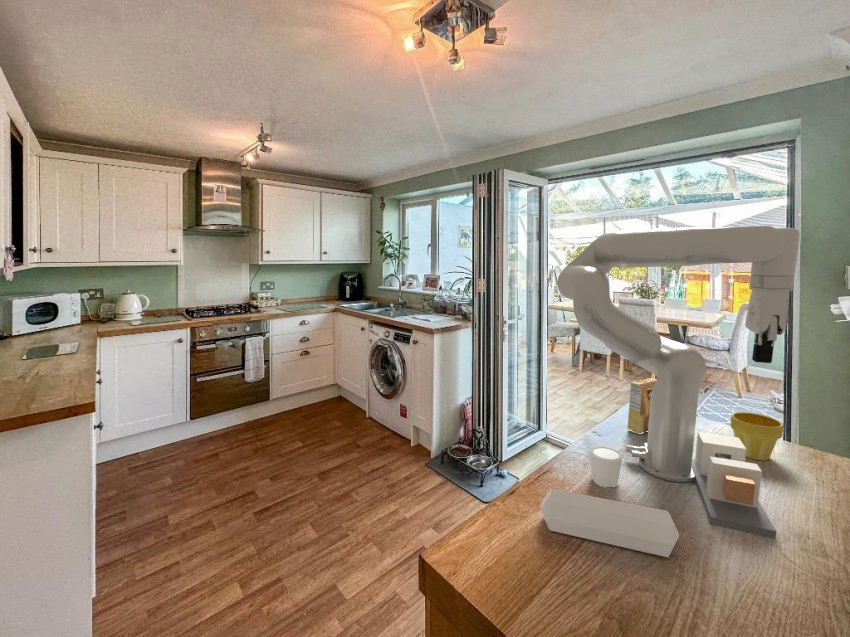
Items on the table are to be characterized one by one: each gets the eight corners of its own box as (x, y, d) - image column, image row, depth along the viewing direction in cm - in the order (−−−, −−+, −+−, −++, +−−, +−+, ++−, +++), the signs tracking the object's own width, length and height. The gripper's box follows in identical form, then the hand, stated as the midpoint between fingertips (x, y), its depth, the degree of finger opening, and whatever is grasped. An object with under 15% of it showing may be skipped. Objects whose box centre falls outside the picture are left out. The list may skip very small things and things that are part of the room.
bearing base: (775, 538, 73) (781, 491, 71) (710, 523, 77) (714, 479, 75) (737, 472, 94) (742, 435, 93) (688, 464, 99) (691, 428, 97)
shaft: (752, 505, 76) (755, 484, 76) (725, 499, 78) (727, 479, 77) (726, 457, 94) (728, 440, 93) (704, 454, 96) (705, 437, 95)
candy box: (645, 424, 122) (649, 377, 120) (659, 430, 118) (663, 381, 116) (626, 430, 118) (629, 381, 116) (639, 436, 114) (643, 385, 112)
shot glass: (583, 473, 95) (584, 446, 94) (610, 472, 96) (612, 445, 95) (598, 490, 88) (599, 461, 87) (627, 488, 89) (629, 459, 88)
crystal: (537, 518, 74) (687, 551, 65) (541, 483, 79) (680, 509, 70) (538, 536, 78) (679, 569, 69) (542, 501, 83) (673, 528, 74)
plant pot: (736, 441, 110) (740, 408, 109) (784, 456, 102) (789, 420, 100) (721, 452, 104) (724, 417, 103) (770, 468, 96) (775, 431, 94)
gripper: (740, 281, 98) (733, 353, 100) (761, 285, 84) (751, 368, 87) (779, 281, 94) (770, 355, 97) (807, 286, 81) (795, 371, 84)
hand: (761, 361), depth 92 cm, fingers closed
